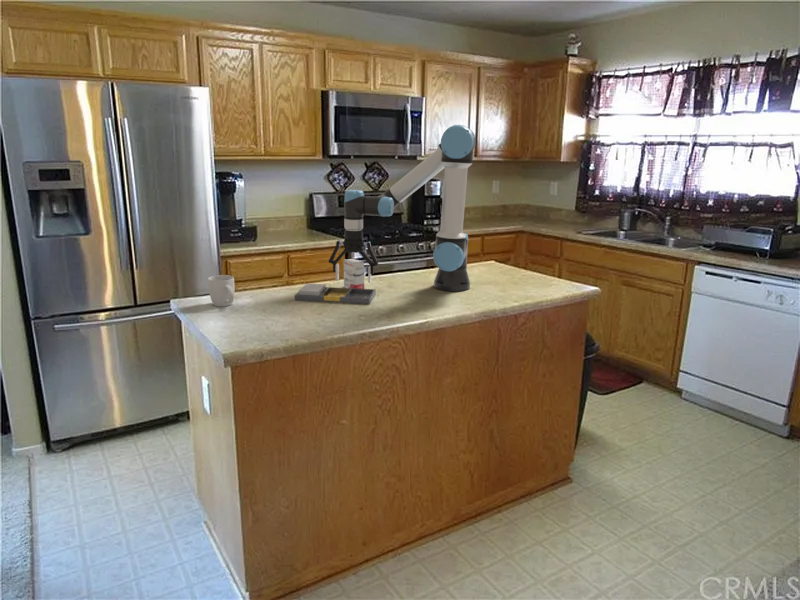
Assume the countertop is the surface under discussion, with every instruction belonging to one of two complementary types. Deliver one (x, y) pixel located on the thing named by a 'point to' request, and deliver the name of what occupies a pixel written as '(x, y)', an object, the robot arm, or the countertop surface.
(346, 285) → the ink box
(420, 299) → the countertop surface
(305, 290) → the panel
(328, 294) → the rack
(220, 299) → the mug
